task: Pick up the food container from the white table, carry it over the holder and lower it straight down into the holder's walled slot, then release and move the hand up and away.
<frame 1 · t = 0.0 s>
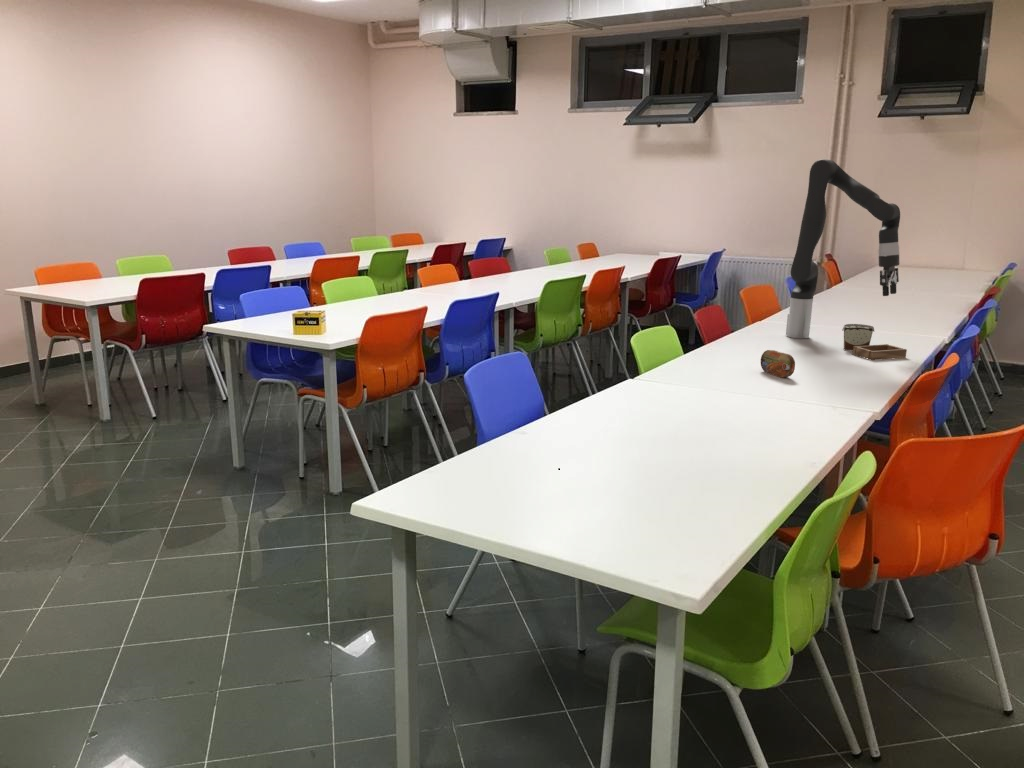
hand: (889, 294, 320), 22 cm above the table, tool pointing down, fingers open, 8 cm apart
food container: (853, 349, 325), on the table
tin: (776, 375, 281), on the table
holder: (878, 356, 312), on the table
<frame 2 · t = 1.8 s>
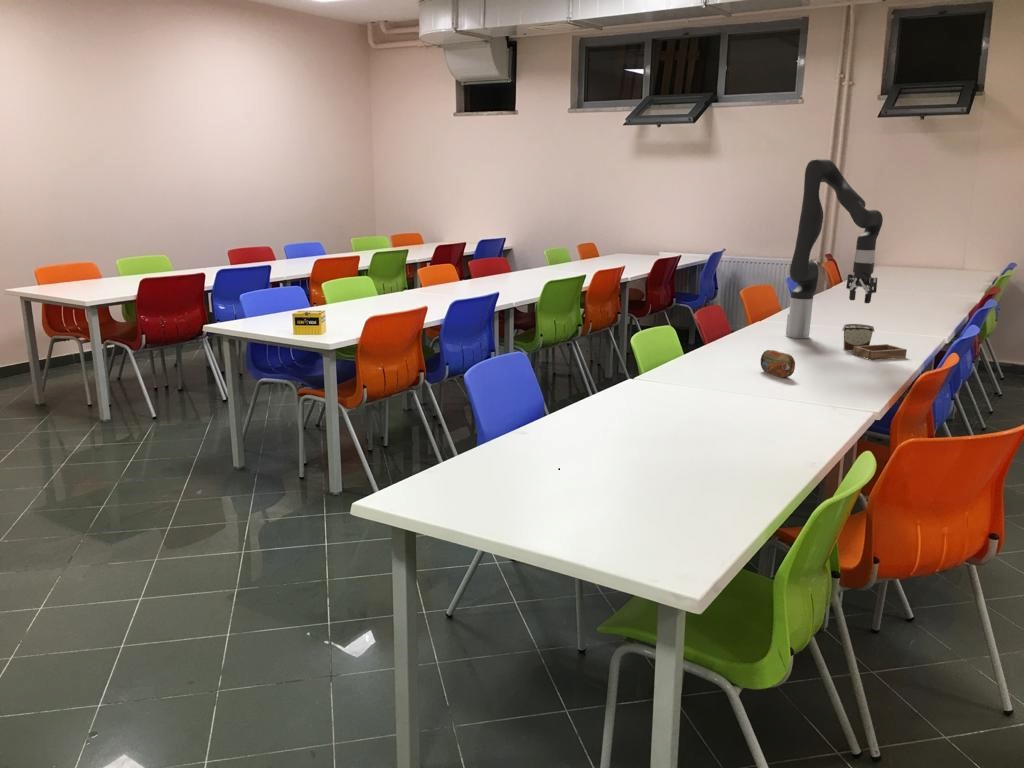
hand: (859, 301, 320), 20 cm above the table, tool pointing down, fingers open, 8 cm apart
nothing on the table moved.
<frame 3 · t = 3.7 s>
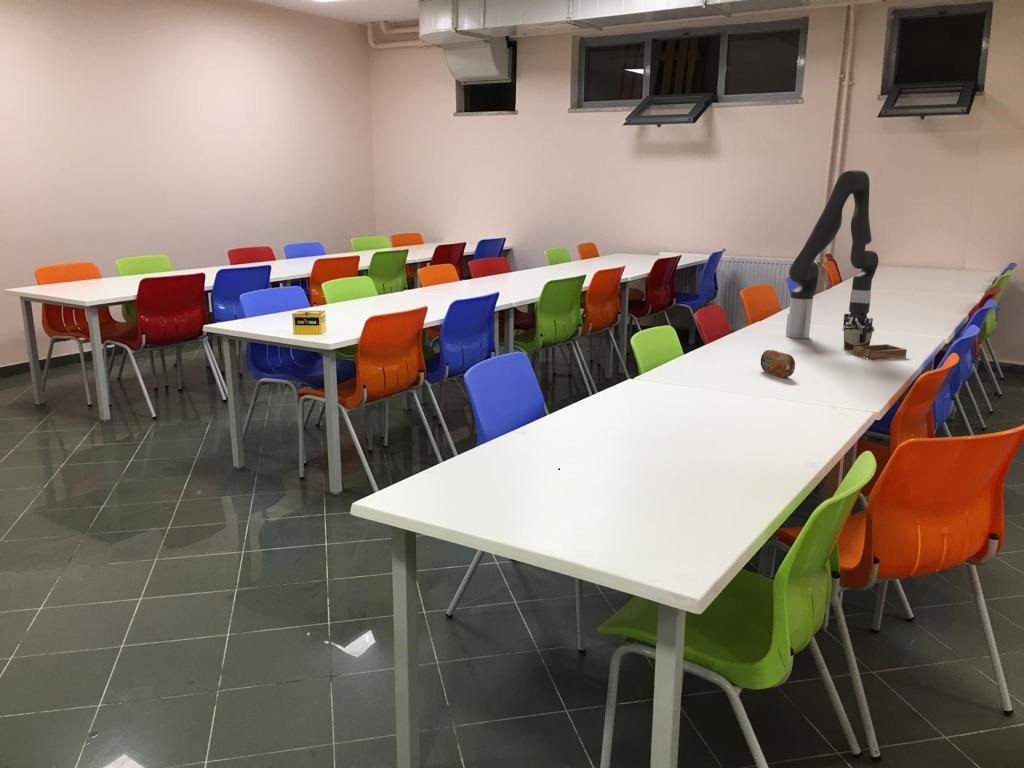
hand: (855, 341, 324), 3 cm above the table, tool pointing down, fingers closed on food container, 7 cm apart
food container: (853, 349, 325), on the table, touching gripper
everything else where it was.
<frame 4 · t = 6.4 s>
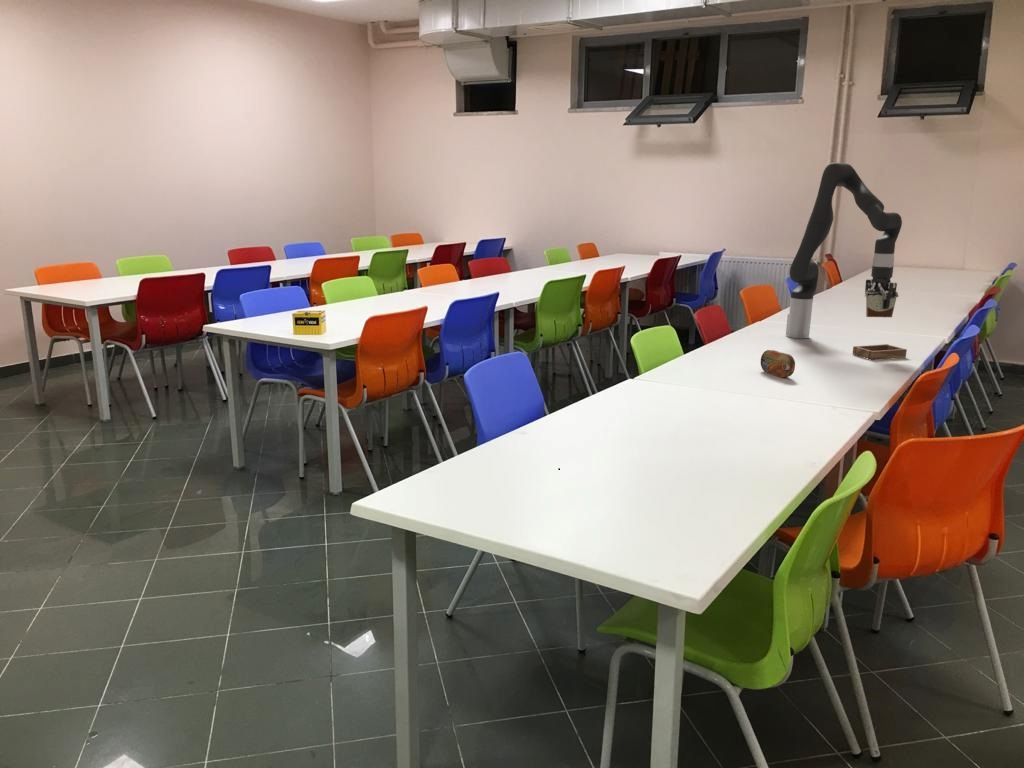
hand: (878, 307, 311), 19 cm above the table, tool pointing down, fingers closed on food container, 7 cm apart
food container: (876, 316, 312), point 15 cm above the table, touching gripper
everything else where it was.
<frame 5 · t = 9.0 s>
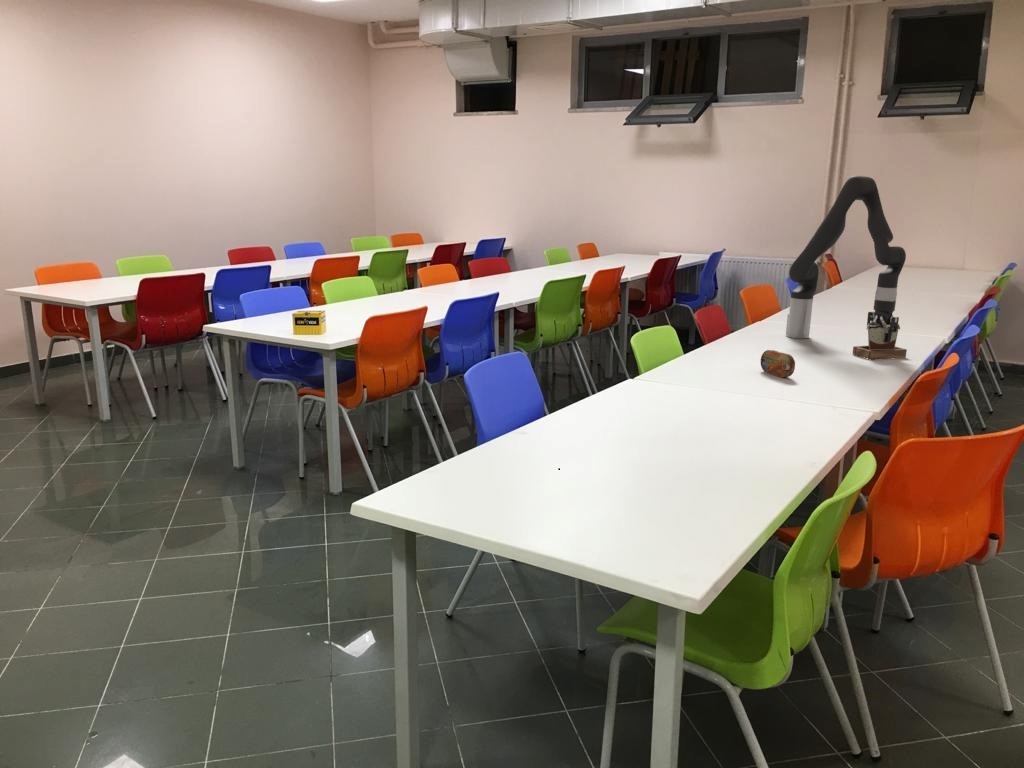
hand: (879, 340, 311), 6 cm above the table, tool pointing down, fingers closed on food container, 7 cm apart
food container: (879, 348, 312), point 3 cm above the table, touching gripper, holder
everything else where it was.
when the fingers open (6 cm above the table, at t = 10.1 s): food container stays where it is, resting on holder.
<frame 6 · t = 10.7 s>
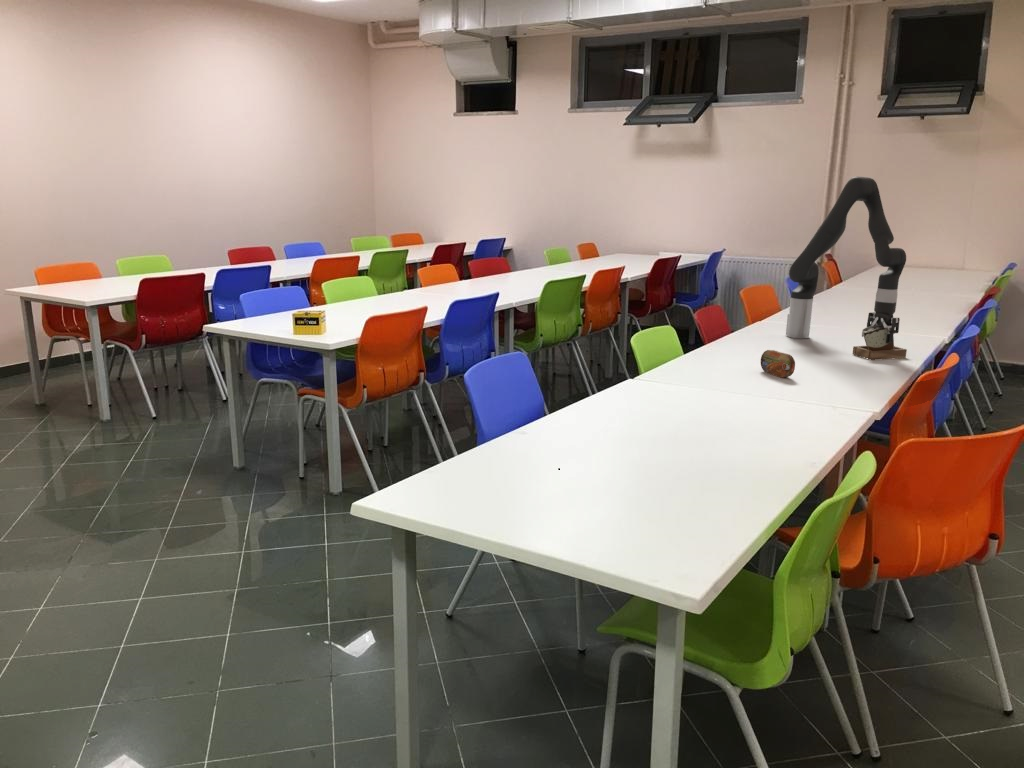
hand: (880, 341, 311), 6 cm above the table, tool pointing down, fingers open, 8 cm apart
food container: (879, 351, 312), point 2 cm above the table, touching holder
everything else where it was.
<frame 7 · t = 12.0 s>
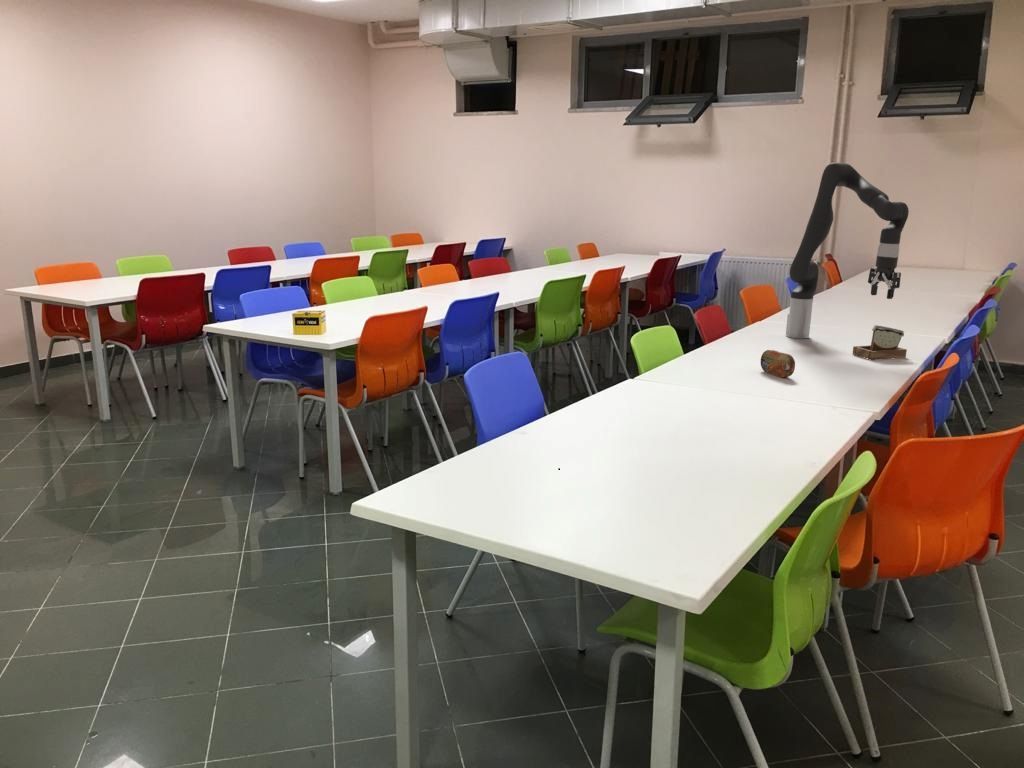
hand: (881, 296, 310), 23 cm above the table, tool pointing down, fingers open, 8 cm apart
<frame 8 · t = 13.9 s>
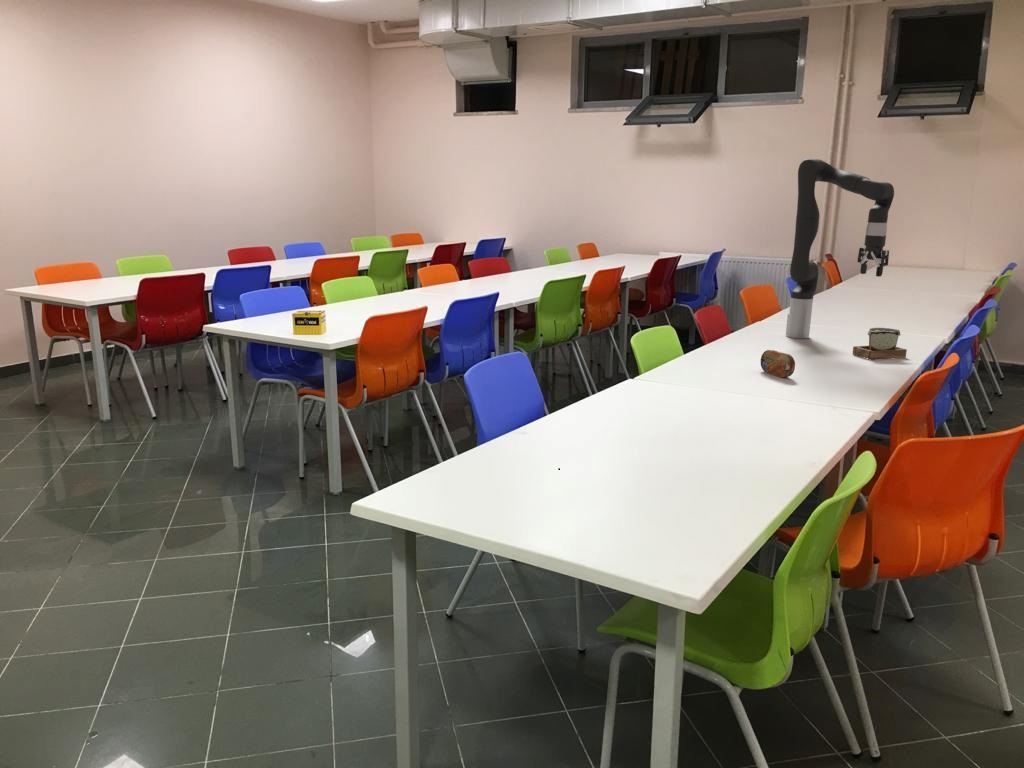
hand: (870, 275, 319), 30 cm above the table, tool pointing down, fingers open, 8 cm apart
at the end: food container 0.5 cm off-centre on the holder, point 0.6 cm above the holder's base; food container tilted 0°; the gripper is holding nothing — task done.
